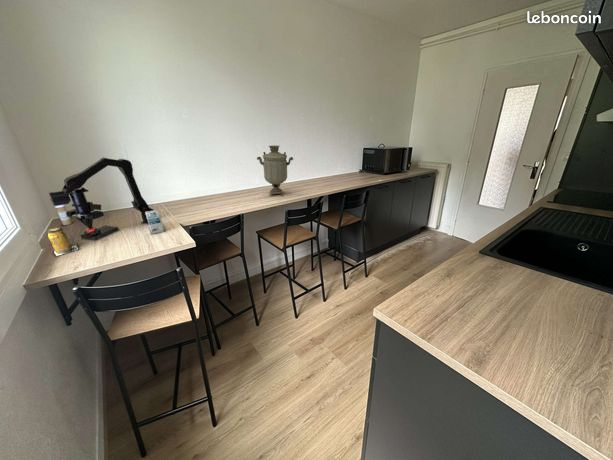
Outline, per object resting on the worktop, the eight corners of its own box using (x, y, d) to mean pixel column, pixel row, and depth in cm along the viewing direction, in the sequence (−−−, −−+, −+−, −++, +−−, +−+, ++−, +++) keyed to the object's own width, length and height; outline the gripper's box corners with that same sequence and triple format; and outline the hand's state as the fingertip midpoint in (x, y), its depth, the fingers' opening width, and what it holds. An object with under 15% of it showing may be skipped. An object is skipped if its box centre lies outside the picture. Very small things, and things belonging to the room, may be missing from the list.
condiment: (54, 251, 125) (43, 229, 120) (75, 245, 131) (66, 224, 126) (56, 256, 121) (45, 233, 116) (79, 249, 127) (69, 228, 122)
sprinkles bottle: (73, 222, 161) (64, 202, 155) (70, 224, 157) (62, 204, 152) (64, 223, 159) (55, 203, 154) (61, 225, 155) (52, 205, 150)
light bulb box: (164, 231, 146) (160, 214, 142) (151, 234, 143) (146, 216, 138) (162, 225, 154) (157, 209, 150) (149, 228, 151) (144, 211, 146)
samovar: (298, 190, 229) (297, 144, 213) (290, 198, 206) (288, 147, 190) (267, 188, 236) (264, 143, 219) (256, 196, 212) (251, 146, 196)
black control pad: (119, 230, 149) (116, 224, 147) (95, 240, 136) (92, 234, 134) (105, 228, 151) (103, 222, 149) (80, 239, 138) (78, 232, 136)
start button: (98, 230, 140) (97, 227, 139) (91, 233, 136) (89, 230, 136) (92, 230, 141) (91, 226, 140) (85, 233, 137) (84, 229, 136)
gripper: (108, 198, 137) (117, 224, 143) (82, 196, 141) (92, 221, 147) (87, 204, 127) (98, 232, 133) (60, 201, 131) (71, 229, 137)
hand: (90, 228), depth 138 cm, fingers closed, pressing on start button
